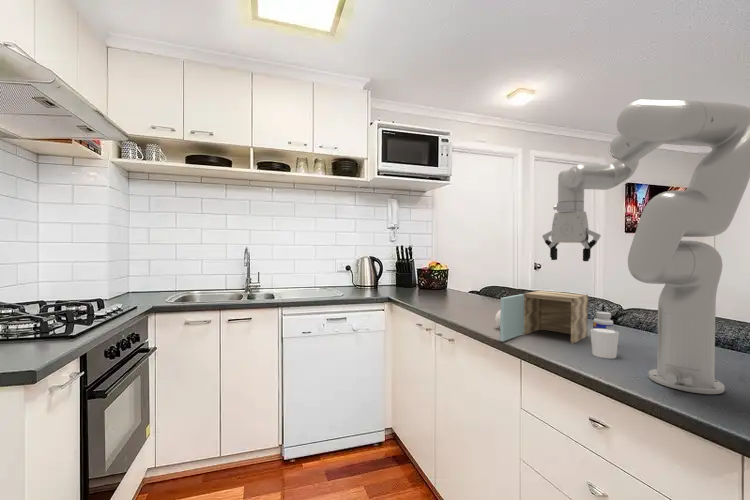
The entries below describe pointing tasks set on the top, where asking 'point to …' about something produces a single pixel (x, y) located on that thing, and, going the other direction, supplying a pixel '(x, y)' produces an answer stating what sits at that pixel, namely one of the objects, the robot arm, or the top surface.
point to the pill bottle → (603, 321)
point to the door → (511, 317)
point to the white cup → (604, 342)
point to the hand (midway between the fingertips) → (569, 260)
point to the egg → (497, 318)
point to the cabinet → (556, 313)
